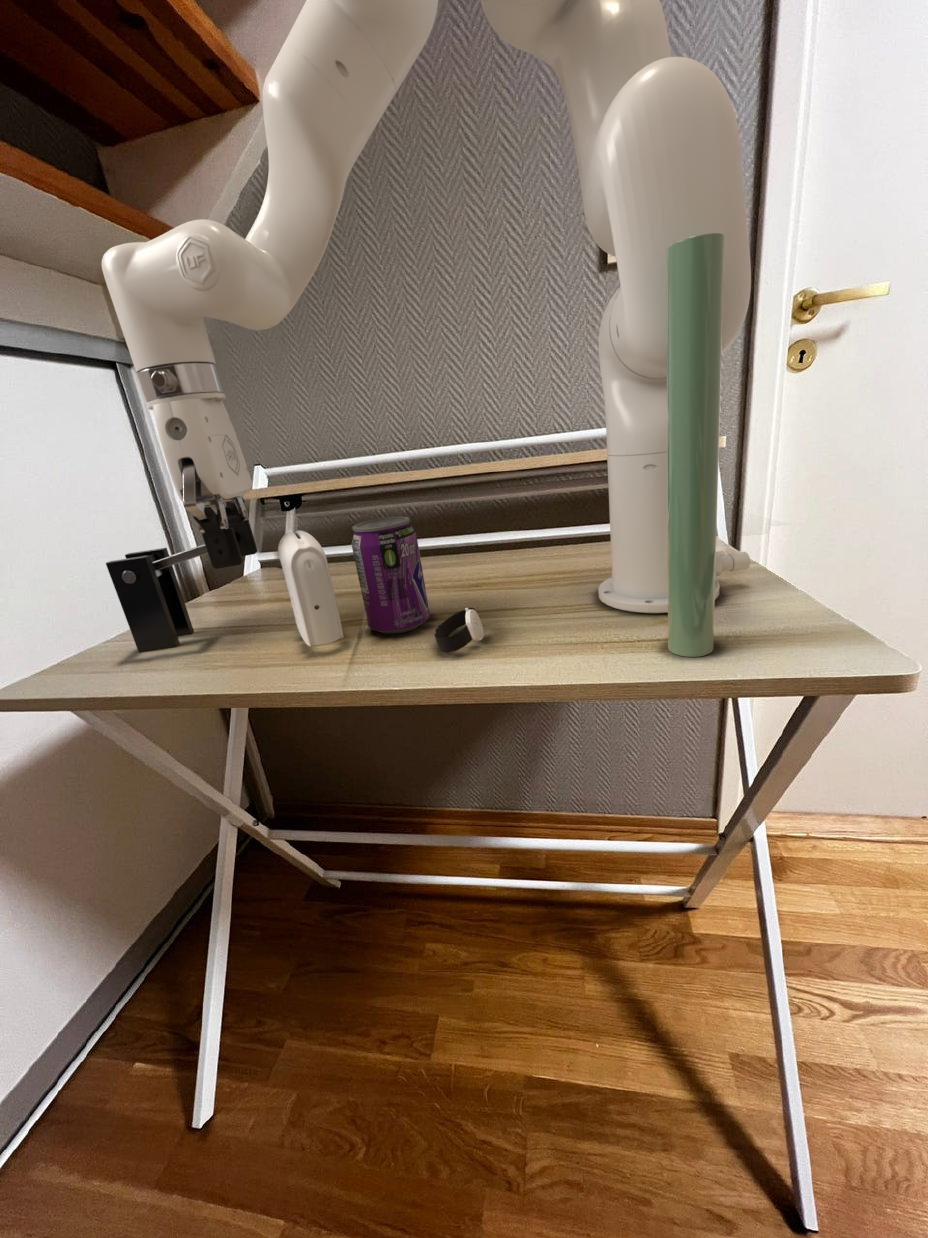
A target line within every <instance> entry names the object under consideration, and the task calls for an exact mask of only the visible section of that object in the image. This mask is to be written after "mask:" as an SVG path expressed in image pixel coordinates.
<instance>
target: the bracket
mask: <svg viewBox="0 0 928 1238" xmlns="http://www.w3.org/2000/svg"><path fill="white" fill-rule="evenodd" d="M150 555H153V556H154V557H155V559H156V560H159V559H162V558H165V557H168V556H170V554H169V551H168V548H167V547H161V548H154V549H148V550H140V551H134V552H129V553H126V554H124V556H125V558H122V559H121V558H120V559H115V560H114V559H113V560H109V561H107V562H105V566H106V569H107V571H108V575H109V576H110V579H111V583H112V584H113V587H114V590H115V592H116V595H117V598H118V600H119V604H120V606H121V608H122V611H123V614H124V616H125V617H124V618H125V620H126V622H127V624H128V627H129V629H130V633H131V635H132V638H133V641H134V644H135V647H136V649H137V652H138V654H142V653H146V652H153V651H161V650H169V649H175V648H178V647H179V646H180V645H181V641H180V639H179V637H185V636H186V637H187V636H191V635H193V634H194V633H195V630H194V627H193V623H192V620H191V618H190V615H189V612H188V608H187V605H186V603H185V599H184V596H183V593H182V590H181V588H180V585H179V581H178V578H177V575H176V572H175V569H174V565H172V566H169V567H166V568H163V569H161V570H162V572H163V574H162V575H160V576H158V577H157V575H156V572H155V569H154V566H153V563H152V560H151V557H150Z"/></svg>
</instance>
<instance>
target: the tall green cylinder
mask: <svg viewBox="0 0 928 1238" xmlns="http://www.w3.org/2000/svg"><path fill="white" fill-rule="evenodd" d="M724 247H725V235H724V234H722V233H708V234H702V235H697V236H693V237H690V238H686V239H683V240H681V241H678V242H676V243H674V244H672V245H670V246H669V247H668V248H667V496H668V613H667V648H668V650H669V652H670V653H672V654H674V655H677V656H680V657H686V658H696V657H703V656H707V655H709V654H711V653H712V652H713V650H714V637H715V606H716V605H715V602H716V599H715V579H716V577H715V569H716V552H717V534H718V533H717V530H718V528H717V527H718V498H719V497H718V495H719V493H718V492H719V458H720V457H719V455H720V427H721V426H720V423H721V422H720V421H721V420H720V419H721V387H722V386H721V385H722V355H723V353H722V319H723V283H724Z"/></svg>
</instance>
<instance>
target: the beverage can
mask: <svg viewBox="0 0 928 1238" xmlns="http://www.w3.org/2000/svg"><path fill="white" fill-rule="evenodd" d="M410 522H411V519H410V517H408V516H402V515H401V516H387V517H381V518H376V519H375V518H374V519H370V520H366V521H362V522H358V523H356V524H354V525H353V526H352V527H351V528H352V531H353V532H354V533H353V537H352V541H351V549H352V554H353V559H354V564H355V568H356V573H357V577H358V578H357V579H358V582H359V587H360V592H361V597H362V603H363V606H364V612H365V617H366V621H367V625H368V628H369V629H370V630H372V631H376V632H380V633H381V634H387V635H398V634H403V633H408V632H410V631H413V630H415V629H417V628H419V627H420V626H421V625H422V624H424V623H425V622H427V620H429V618H430V617H431V616H430V615H431V612H430V607H429V601H428V595H427V588H426V582H425V577H424V572H423V565H422V560H421V553H420V548H419V547H420V546H419V541H418V535H417V532H416V531H415V529H414V528H413V526H412V525H411V524H410Z"/></svg>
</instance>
